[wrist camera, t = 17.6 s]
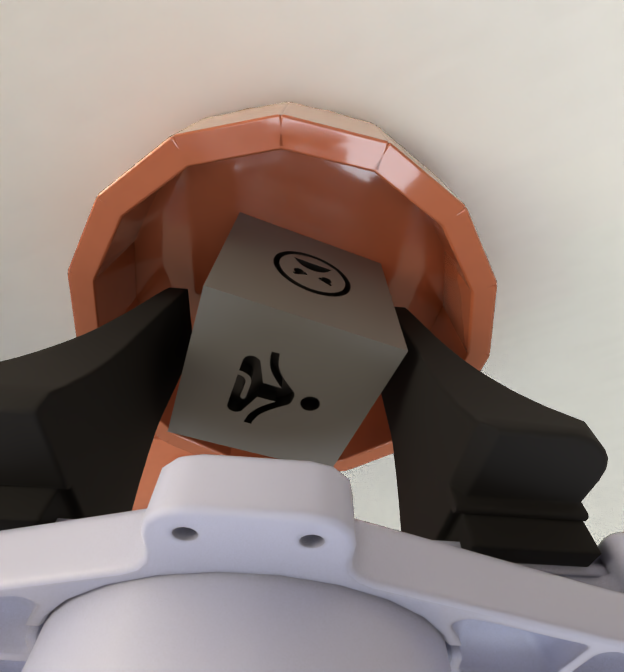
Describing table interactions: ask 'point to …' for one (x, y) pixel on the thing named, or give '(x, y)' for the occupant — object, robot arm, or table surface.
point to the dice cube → (287, 346)
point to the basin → (292, 214)
